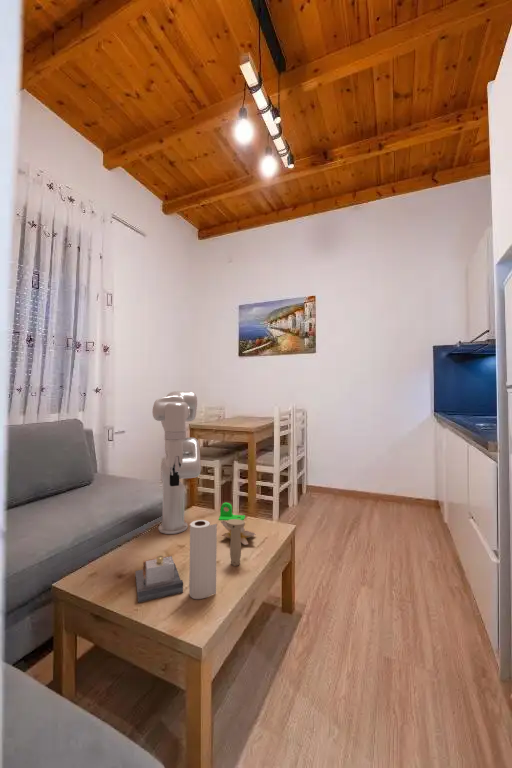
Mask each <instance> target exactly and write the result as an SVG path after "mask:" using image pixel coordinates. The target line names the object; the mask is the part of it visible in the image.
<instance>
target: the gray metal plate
mask: <svg viewBox="0 0 512 768" xmlns="http://www.w3.org/2000/svg"><path fill="white" fill-rule="evenodd" d="M134 574H135V585H136V594H137V603H143V602H147V601H152V600H156V599H160V598H166V597H169V596H173V595H177V594H182V593H184V581H183V579H181V578H180V573H179V571H178V568H177V565H176V563H175V562H174V582H170V583H165V584H161V585H156V586H152V587H147V588H146V585H145V583H144V581H143V569H139V570H135V573H134Z"/></svg>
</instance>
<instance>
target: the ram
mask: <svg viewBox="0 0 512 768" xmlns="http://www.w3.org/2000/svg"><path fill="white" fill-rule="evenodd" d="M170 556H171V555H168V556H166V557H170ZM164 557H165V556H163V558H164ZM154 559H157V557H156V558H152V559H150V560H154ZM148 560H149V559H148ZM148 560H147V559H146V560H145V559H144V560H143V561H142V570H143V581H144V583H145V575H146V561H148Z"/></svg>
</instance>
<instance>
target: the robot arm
mask: <svg viewBox="0 0 512 768" xmlns="http://www.w3.org/2000/svg"><path fill="white" fill-rule="evenodd" d="M197 407H198V397H197V395H196V393H195V392H194V391H191V390H190V391H179V390H177V391H170V392H169V393H168V394H167V395H166V396H165V397H160V398H158V399H155V401H154V402H153V405H152V417H153V419H154V420H155V421H156V422H157V421H158V422H161V425H162V428H163V430H164V454H165V458H164V459H163V460H162V462H161V464H160V470H161V471H160V472H161V480H162V519H161V520H162V523H161V524H159V526H158V531H159V532H160V533H161V534H165V535H175V534H176V535H177V534H180V533H183V532H185V531H186V530H188V523H187V522H186V521H185V492H186V491H185V485H184V484H183V483H182V482H181V481H180V480H182V479H193V478H194V479H195V478H197V477H199V476H200V475H201V469H202V467H201V466H202V465H201V453H200V449H201V448H200V442H199V440H198V439H197V438H195V437H186V422H193V421H194V420H195V419H196V416H197V409H198V408H197Z"/></svg>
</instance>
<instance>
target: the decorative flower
mask: <svg viewBox="0 0 512 768" xmlns="http://www.w3.org/2000/svg"><path fill="white" fill-rule="evenodd" d="M220 523H221V524H222V526H223V527H224V528H225V529H226V530H227V531H228V532H225V533H223V534H220V536H222V537H225V538H227V539H230V540H231V528H230V527H228V526H227V521H225V520H220ZM240 536H241V544H242V545H249V542H248V540H247V539H248V538H252V537H254V536H256V533H255V532H252V531H249V530H245V526H244V527H243V528H241V529H240Z"/></svg>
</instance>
